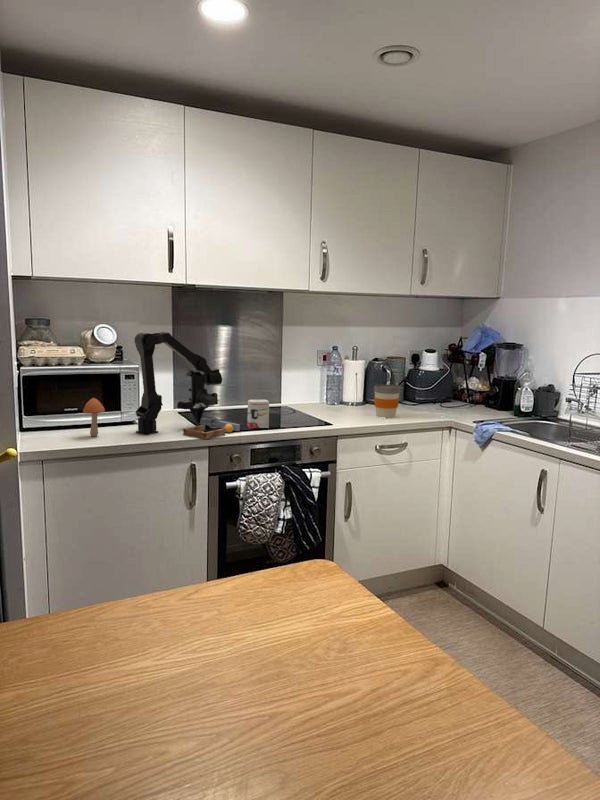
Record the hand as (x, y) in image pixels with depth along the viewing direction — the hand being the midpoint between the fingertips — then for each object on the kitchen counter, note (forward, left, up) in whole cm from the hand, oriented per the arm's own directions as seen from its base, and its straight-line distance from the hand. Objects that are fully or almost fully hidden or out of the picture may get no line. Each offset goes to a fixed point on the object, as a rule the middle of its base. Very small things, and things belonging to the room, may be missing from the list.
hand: (198, 422), depth 242 cm
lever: (+4, -9, -1) cm, 10 cm away
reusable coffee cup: (+78, -49, -2) cm, 92 cm away
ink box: (+16, -20, -2) cm, 25 cm away
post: (+4, -6, -2) cm, 7 cm away
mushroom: (-39, +16, -2) cm, 42 cm away
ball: (0, -17, 0) cm, 17 cm away
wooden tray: (-10, -13, -2) cm, 17 cm away
